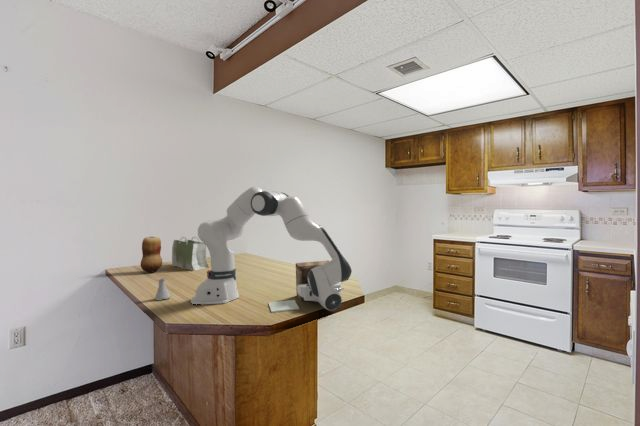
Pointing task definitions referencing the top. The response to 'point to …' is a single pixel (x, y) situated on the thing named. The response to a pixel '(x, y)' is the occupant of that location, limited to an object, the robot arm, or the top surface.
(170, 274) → the top surface
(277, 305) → the plate
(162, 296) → the flask
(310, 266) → the shelf cubby
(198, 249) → the grocery bag
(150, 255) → the butternut squash
